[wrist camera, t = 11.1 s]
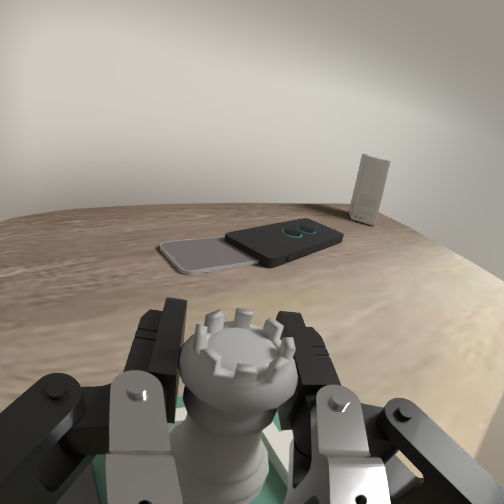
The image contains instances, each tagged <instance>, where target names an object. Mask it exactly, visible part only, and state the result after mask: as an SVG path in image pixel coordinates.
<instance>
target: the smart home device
mask: <svg viewBox="0 0 504 504" xmlns="http://www.w3.org/2000/svg"><path fill="white" fill-rule="evenodd" d="M343 235H344V234H342V233H340V232H338V231H336V230H333V229H331V228H329V227H326V226H324V225H322V224H319V223H317V222H315V221H312V220H310V219H307V218H303V219H297V220H292V221H287V222H281V223H276V224H271V225H265V226H260V227H255V228H250V229H244V230H239V231H234V232H229V233H226V234H225V240H224V241H225V242H227V243H229V244H230V245H232V246H234V247H236V248H238V249H239V250H241V251H243V252H245V253H246V254H248V255H250V256H252V257H253V258H255V259H257V260H259V263H258V264H260V265H262V266H264V267H265V268H274V267H277V266H280V265H282V264H285V263H288V262H291V261H293V260H296V259H299V258H301V257H304V256H307V255H310V254H312V253H315V252H318V251H320V250H323V249H326V248H328V247H331V246H334V245H336V244H339V243H341V242H342V239H343Z"/></svg>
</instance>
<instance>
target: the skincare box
mask: <svg viewBox="0 0 504 504" xmlns="http://www.w3.org/2000/svg"><path fill="white" fill-rule="evenodd" d="M389 166H390V161H387V160H385V159H381V158H378V157H374V156H370V155H366V154H362V157H361V162H360V166H359V171H358V175H357V180H356V184H355V188H354V192H353V197H352V200H351V204H350V208H349V214H350V217H351V219H352V220H355V221H359V222H362V223H365V224H368V225H371V226H375V223H376V219H377V215H378V211H379V207H380V203H381V199H382V196H383V192H384V187H385V183H386V179H387V174H388V170H389Z"/></svg>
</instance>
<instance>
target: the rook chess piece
mask: <svg viewBox="0 0 504 504" xmlns="http://www.w3.org/2000/svg"><path fill="white" fill-rule="evenodd" d="M253 313H254V311H252V310H245V309H239V308H236V313H235V318H234V321H231V322H224V319H225V315H224V314H223V312H222V311H221V310H217V311H214V312H212V313H209V314H206V317H205V324H204V326H202V325H199V324H196V329H195V334H194V335H192V336H191V337H190V338H189V339H188V340H187V341H186V342H185V343H184V344H183V345H182V346H181V347H180V352H179V359H178V370H179V373H180V376H181V379H182V382H183V383H184V384H185V387H184V393H183V402H184V405H185V408H186V411H187V416H186V418H185V420H184V421H182V423H181V424H179V425H177V426H175V428H174V429H173V430H172V431H171V433H170V434H169V440H170V446H171V451H172V453H173V456H174V460H175V465H176V470H177V476H178V481H179V486H180V490H181V495H182V500H183V503H184V504H248V503H250V502H251V501H252V500H253V499H255V498H256V497H257V496H258V495H259V493H260V491H261V489H262V487H263V485H264V482H265V480H266V477H267V475H268V473H269V465H268V451H267V449H266V447H265V446H264V443H263V441H262V440H261V436H262V430H263V429H265V428H266V427H267V426H269V425H270V424H271V423H272V421H273V419H274V417H275V414H276V412H277V407H279V406H280V405H281V404H283V403H284V402H285V401H286V400H288V399H289V398H290V397H291V396H293V394H294V392H295V389H296V387H297V384H298V381H299V376H298V372H297V367H296V363H295V360H294V359H293V355H294V353H295V350H296V349H295V344H294V340H293V337H283V338H282V341H281V340H280V337H281V334H282V331H283V328H284V326H283V325H282V324H280V323H279V322H277V321H276V320H274V319H273V318H271V317H270V318H268V319H267V320H266V321H265V324H264V328H261V327H258V326H256V325H253V324H251V321H252V317H253Z"/></svg>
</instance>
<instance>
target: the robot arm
mask: <svg viewBox="0 0 504 504" xmlns="http://www.w3.org/2000/svg"><path fill="white" fill-rule="evenodd" d="M186 310H187V300H183V299H175V298H168V297H167V298H166V301H165V305H164V309H163V311H158V310H151V309H150V310H149V311H148V312H147V313H145V314H144V315H143V316H142V317H141V319H140V322H139V325H138V329H137V331H136V334H135V338H134V340H133V343H132V346H131V349H130V353H129V356H128V359H127V362H126V366H125V369H124V371H123V373H121V374H119V375H118V376H117V377H116V378H114V380H113V381H112V383H110V384H108V385H104V386H96V387H80V385H79V383H78V382H77V380H76V379H74V378H73V377H71V376H70V375H67V374H63V373H52V374H48V375H46V376H44V377H42V378H41V379H39V380H38V381H37V382H36V383H35V384H34V385H32V386H31V387H30V388H29V389H28V390H27V391H25V392H24V393H23V394H22V395H21V396H20V397H18V398H17V399H16V400H15V401H14V402H13V403H11V404H10V405H9V406H8V407H7V408H6V409H5V410H4V411H2V412H1V413H0V504H56V503H57V502H58V501H59V499H60V498H61V497H62V496H63V495H64V493H65V492H66V491H67V490H68V489H69V488H70V486H71V485H72V484H73V483H74V482H75V480H76V479H77V478H78V477H79V476H80V474H81V473H82V472H83V471H84V470H85V468H86V467H87V466H88V465H89V464H90V462H91V461H92V460H93V459H94V458H95V456H96V455H102V454H106V485H107V499H108V504H183V500H182V495H181V490H180V486H179V481H178V476H177V470H176V465H175V460H174V456H173V453H172V451H171V446H170V440H169V433H168V426H167V424H168V423H173V424H175V414H176V404H177V395H178V386H179V377H180V373H179V370H178V359H179V352H180V347H181V346H182V345H183V343H184V332H185V321H186ZM276 321H277V322H279V323H280V324H282V325H283V326H284V328H283V331H282V334H281V337H280V340H281V341H282V338H283V337H293V340H294V344H295V349H296V350H295V353H294V355H293V359H294V360H295V363H296V367H297V372H298V376H299V381H298V384H297V387H296V389H295V392H294V394H293V396H291V397H290V398H289V399H288V400H286V401H285V402H284V403H283V404H281V405H280V406H279V407H277V411H278V416H279V421H280V426H281V430H292V432H293V439H292V440H291V442H290V447H289V470H288V489H287V495H286V498H285V501H284V503H283V504H504V488H503V487H502V486H501V485H500V484H499V483H498V482H497V481H496V480H495V479H494V478H493V477H492V476H491V475H490V474H489V473H488V472H486V471H485V470H484V469H483V468H482V467H481V466H480V465H479V464H478V463H477V462H476V461H475V460H474V459H473V458H472V457H471V456H470V455H469V454H468V453H466V452H465V451H464V450H463V449H462V448H461V447H460V446H459V445H458V444H457V443H456V442H455V441H454V440H453V439H452V438H451V437H449V436H448V435H447V434H446V433H445V432H444V431H443V430H442V429H441V428H440V427H439V426H438V425H437V424H436V423H435V422H434V421H432V420H431V419H430V418H429V417H428V416H427V415H426V414H425V413H424V412H423V411H422V410H421V409H420V408H419V407H418V406H417V405H415V404H414V403H413V402H411V401H409V400H407V399H404V398H394V399H391V400H390V401H388V403H387V404H386V405H385V407H384V408H382V407H377V406H372V405H366V404H362V403H360V400H359V398H358V397H357V395H356V394H355V393H354V392H352V391H351V390H350V389H348V388H346V387H343V386H341V383H340V381H339V378H338V376H337V373H336V371H335V368H334V366H333V363H332V361H331V359H330V357H329V354H328V351H327V349H325V347H326V346H325V344H324V342H323V339H322V337H321V336H320V335H319V334H318V333H317V332H316V330H315V329H314V328H313V327H306V326H305V323H304V321H303V318H302V315H301V314H300V313H296V312H285V311H279V312H278V314H277V317H276ZM399 450H400V451H401V452H402V453H403V454H404V455H405V456H406V457H407V458H408V459H409V461H410V462H411V463H412V464H413V465H414V466H415V467H416V468H417V469H418V470H419V471H420V472H421V473H422V474H423V477H424V478H418V477H417V476H415V475H414V474H413V473H412V472H411V471H410V470H409V469H408V468H407V467H406V466H405V465H404V463H403V462H402V461H401V460H400V459H399V458H398V457H397V456H396V455H395V454H396V453H397V452H398V451H399Z"/></svg>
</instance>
